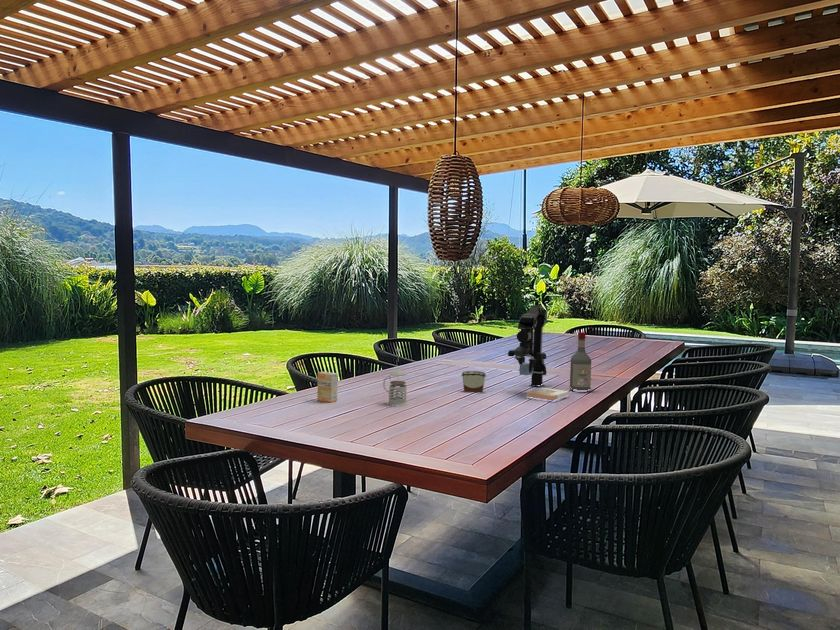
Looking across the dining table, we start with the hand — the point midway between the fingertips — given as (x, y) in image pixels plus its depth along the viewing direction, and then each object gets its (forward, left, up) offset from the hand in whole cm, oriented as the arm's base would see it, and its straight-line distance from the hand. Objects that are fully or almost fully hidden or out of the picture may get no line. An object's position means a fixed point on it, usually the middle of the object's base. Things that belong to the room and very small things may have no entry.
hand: (526, 372), depth 290 cm
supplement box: (+77, -59, -11) cm, 98 cm away
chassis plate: (0, +12, -11) cm, 16 cm away
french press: (+59, -33, -11) cm, 68 cm away
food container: (+12, -23, -11) cm, 28 cm away
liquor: (-27, +16, -11) cm, 33 cm away
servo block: (0, 0, -1) cm, 1 cm away
